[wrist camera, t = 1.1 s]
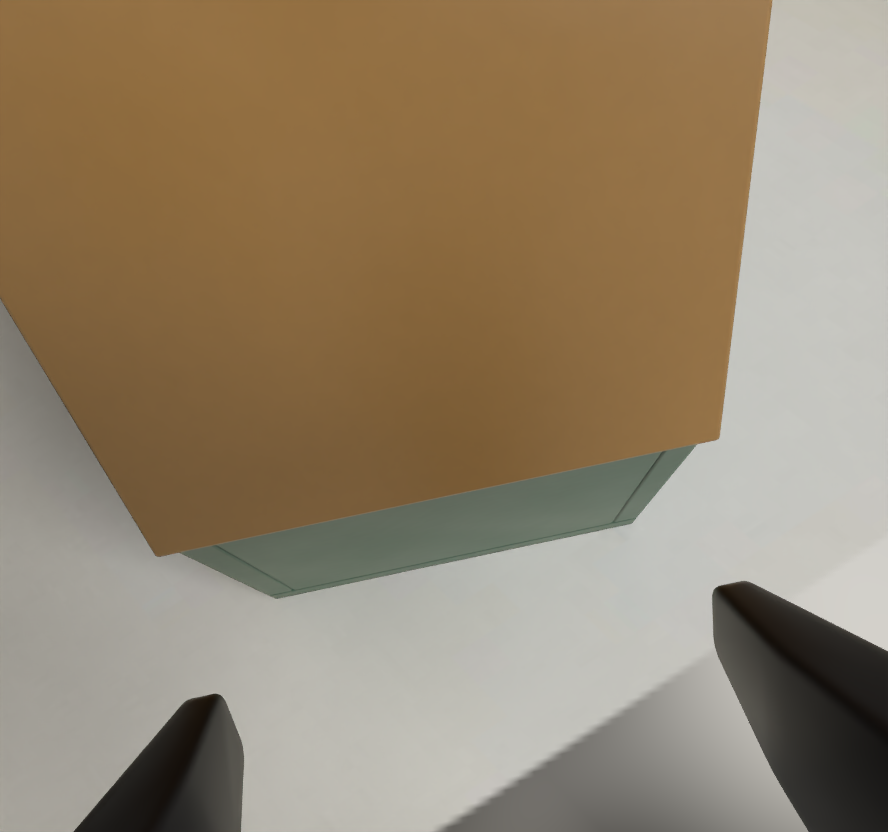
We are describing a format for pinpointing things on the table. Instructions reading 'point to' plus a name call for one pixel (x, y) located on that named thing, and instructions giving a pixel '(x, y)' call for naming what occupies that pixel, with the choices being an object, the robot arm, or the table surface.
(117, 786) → the robot arm
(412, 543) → the green open box
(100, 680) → the table surface
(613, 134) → the lid
